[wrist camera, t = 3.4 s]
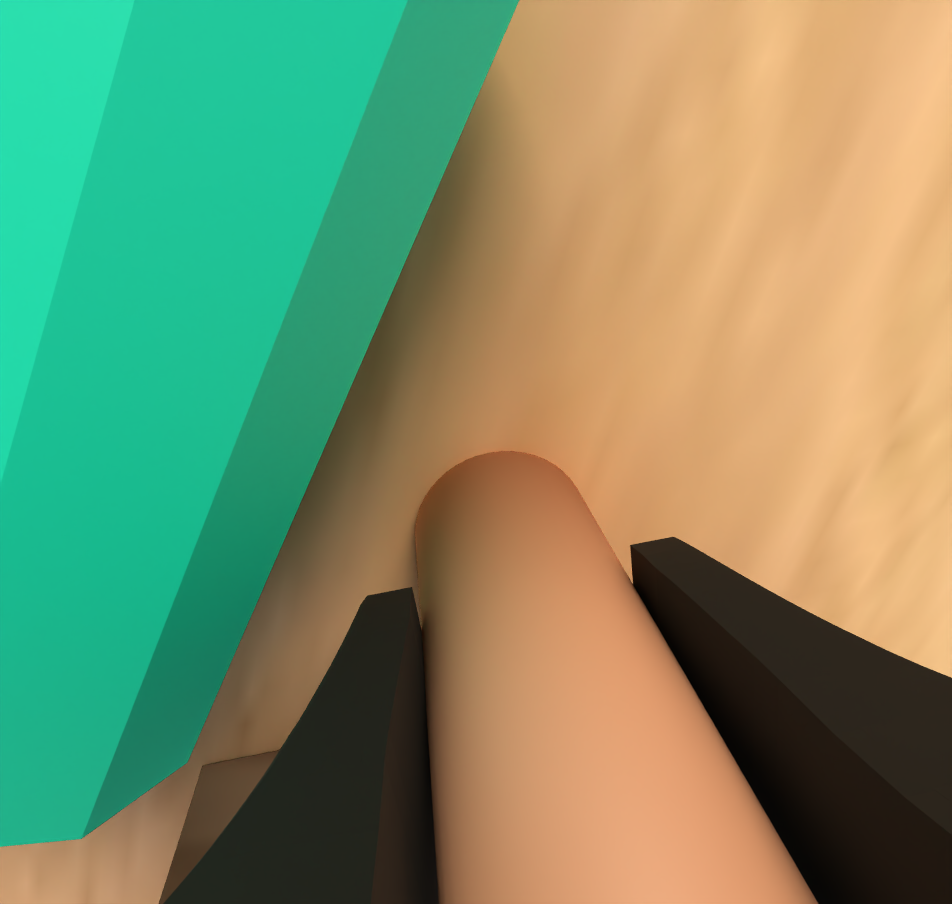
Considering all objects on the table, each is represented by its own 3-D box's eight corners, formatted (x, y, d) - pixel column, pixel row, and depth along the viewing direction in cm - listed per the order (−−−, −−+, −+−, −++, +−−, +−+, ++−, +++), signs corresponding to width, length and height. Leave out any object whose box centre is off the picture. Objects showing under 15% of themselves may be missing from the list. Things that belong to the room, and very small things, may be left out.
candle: (686, -44, 7) (261, 815, 10) (315, -128, 10) (82, 570, 13) (-44, -1481, 2) (-380, 1164, 5) (-372, -761, 5) (-445, 645, 8)
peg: (431, 617, 13) (523, 1649, 4) (400, 469, 11) (428, 1468, 3) (592, 586, 13) (1039, 1514, 4) (578, 436, 11) (1168, 1282, 3)
